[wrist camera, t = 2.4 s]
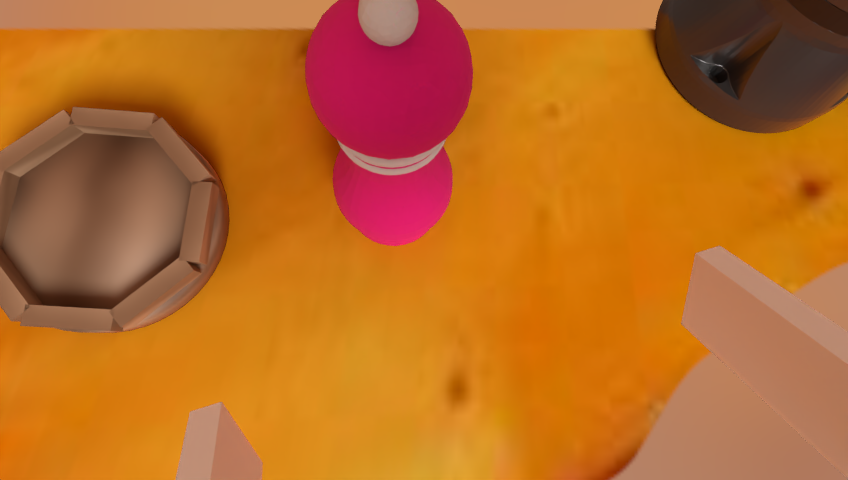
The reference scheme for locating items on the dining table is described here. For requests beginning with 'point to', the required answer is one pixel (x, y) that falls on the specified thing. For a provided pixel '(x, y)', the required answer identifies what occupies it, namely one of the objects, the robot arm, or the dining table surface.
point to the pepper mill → (390, 109)
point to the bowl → (106, 222)
